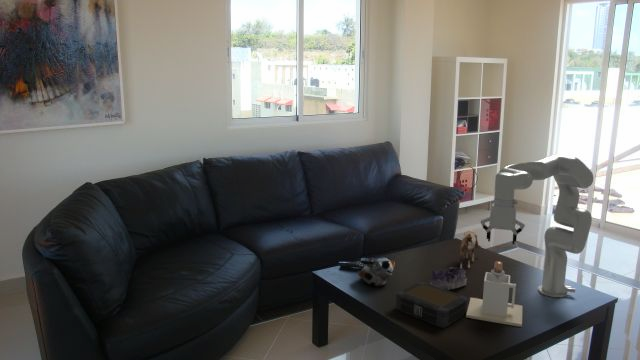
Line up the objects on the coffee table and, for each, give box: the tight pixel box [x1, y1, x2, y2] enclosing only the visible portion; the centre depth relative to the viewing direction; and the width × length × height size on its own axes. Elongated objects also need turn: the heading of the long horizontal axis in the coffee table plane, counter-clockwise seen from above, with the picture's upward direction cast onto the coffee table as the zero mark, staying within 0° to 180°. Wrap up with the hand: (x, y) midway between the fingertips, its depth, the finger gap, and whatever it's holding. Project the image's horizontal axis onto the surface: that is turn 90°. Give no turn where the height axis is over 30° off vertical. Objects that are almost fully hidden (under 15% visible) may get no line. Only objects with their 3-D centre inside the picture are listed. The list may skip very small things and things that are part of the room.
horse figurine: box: [459, 230, 482, 270], centre depth 272 cm, size 31×8×21 cm, turn 152°
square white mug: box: [465, 271, 523, 328], centre depth 217 cm, size 22×18×16 cm
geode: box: [429, 266, 468, 291], centre depth 244 cm, size 20×12×10 cm, turn 123°
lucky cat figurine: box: [356, 257, 396, 287], centre depth 249 cm, size 17×14×16 cm
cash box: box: [395, 281, 469, 329], centre depth 219 cm, size 25×20×8 cm
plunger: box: [490, 260, 506, 282], centre depth 216 cm, size 8×8×21 cm
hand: (501, 241), depth 212 cm, fingers open, 9 cm apart
